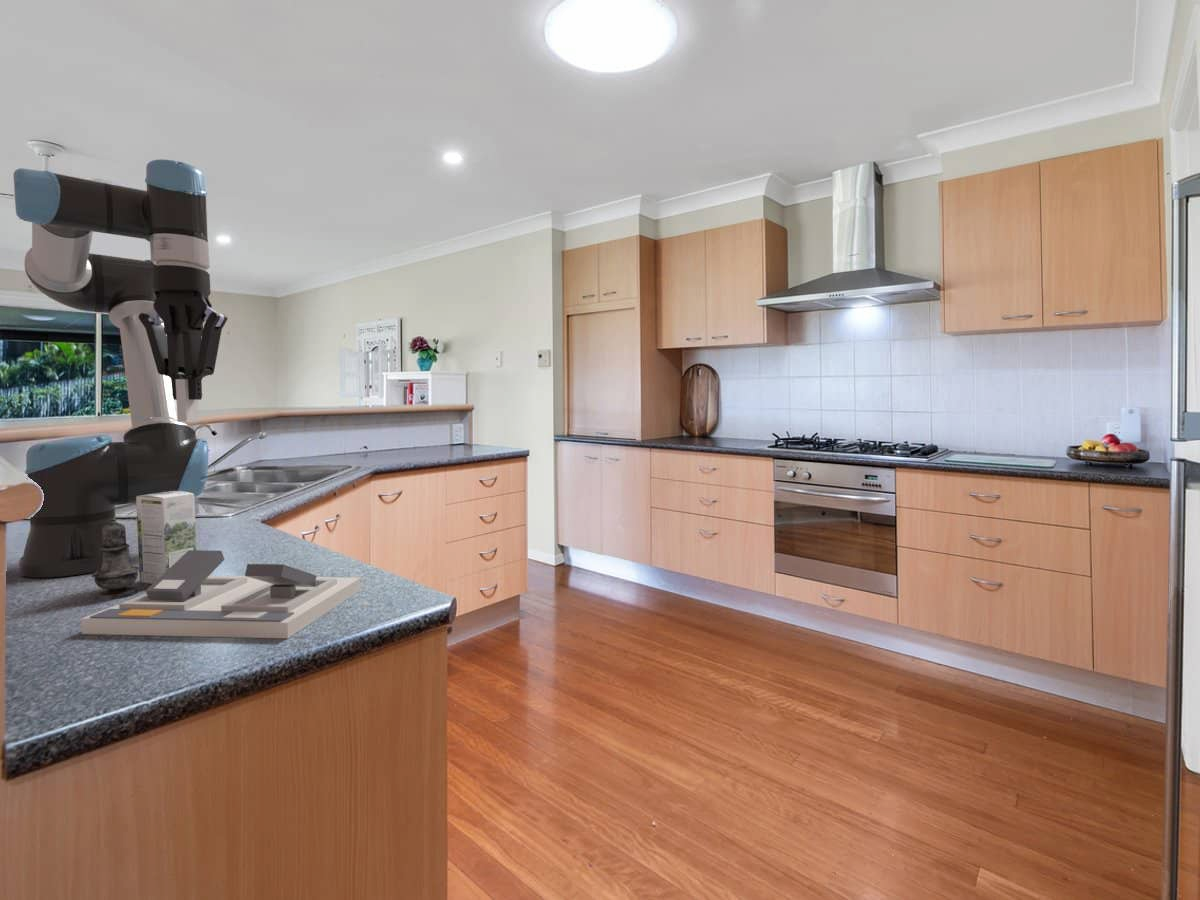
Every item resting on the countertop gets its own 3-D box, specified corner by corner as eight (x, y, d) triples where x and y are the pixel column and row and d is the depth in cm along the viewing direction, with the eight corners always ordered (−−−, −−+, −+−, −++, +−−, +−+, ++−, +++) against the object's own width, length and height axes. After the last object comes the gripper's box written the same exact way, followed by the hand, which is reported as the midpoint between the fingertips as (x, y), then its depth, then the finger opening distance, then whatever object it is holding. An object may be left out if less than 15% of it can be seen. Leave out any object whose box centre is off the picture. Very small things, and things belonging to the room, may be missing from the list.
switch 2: (281, 586, 91) (283, 574, 91) (314, 586, 90) (316, 574, 91) (244, 576, 82) (247, 563, 83) (281, 576, 82) (283, 563, 82)
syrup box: (171, 574, 106) (167, 490, 105) (199, 576, 105) (194, 491, 104) (139, 583, 101) (133, 495, 100) (167, 586, 99) (162, 496, 98)
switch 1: (192, 559, 92) (188, 549, 91) (224, 559, 92) (221, 550, 91) (149, 600, 84) (145, 590, 83) (184, 600, 84) (180, 590, 83)
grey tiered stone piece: (114, 601, 91) (110, 521, 90) (82, 599, 93) (77, 519, 92) (151, 589, 97) (146, 514, 96) (120, 587, 98) (115, 513, 97)
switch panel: (195, 587, 98) (194, 565, 98) (360, 590, 96) (360, 567, 96) (82, 633, 78) (80, 606, 78) (288, 638, 76) (286, 610, 76)
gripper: (120, 263, 92) (129, 421, 94) (204, 261, 91) (211, 421, 93) (159, 274, 100) (167, 420, 101) (237, 272, 99) (243, 420, 101)
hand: (188, 420), depth 97 cm, fingers closed
